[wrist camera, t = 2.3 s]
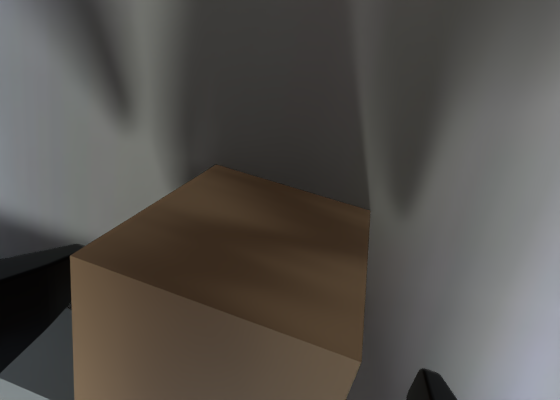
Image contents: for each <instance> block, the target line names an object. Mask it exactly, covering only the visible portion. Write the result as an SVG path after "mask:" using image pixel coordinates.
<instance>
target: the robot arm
mask: <svg viewBox="0 0 560 400" xmlns="http://www.w3.org/2000/svg"><path fill="white" fill-rule="evenodd" d="M83 247H85V246H83V245H80V244H73V245H68V246H63V247H59V248H54V249H49V250H44V251H39V252H34V253H29V254H24V255H19V256H14V257H9V258H5V259H0V373H1V372H2V371H3V370H4V369H6V368H7V367H8V366H9V365H10V364H11V363H12V362H13V361H14V360H15V359H16V358H17V357H18V356H19V355H20V354H21V353H22V352H23V351H24V350H25V349H26V348H28V347H29V346H30V345H31V344H32V343H33V342H34V341H35V340H36V339H37V338H38V337H39V336H40V335H41V334H42V333H43V332H44V331H45V330H46V329H47V328H48V327H49V326H50V325H51V324H52V323H53V322H54V321H55V320H56V319H57V318H58V316H59V315H60V314H61V313H62V312H63V311H64V310H65V308H66V307H67V306H68V305H69V304H70V303H71V272H70V255H72V254H73V253H75V252H77V251H78V250H80V249H81V248H83ZM406 400H457V398H456V397H455V395H454V394H453V393H452V391H451V390H450V388H449V387H448V385H447V384H446V382H445V381H444V379H443V378H442V377H441V375H440V374H438V373H436V372H433V371H431V370H428V369H425V368H422V369H420V370H419V372H418V373H417V375H416V377H415V379H414V381H413V383H412V385H411V387H410V389H409V391H408V394H407V399H406Z"/></svg>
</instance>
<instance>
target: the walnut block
mask: <svg viewBox="0 0 560 400" xmlns="http://www.w3.org/2000/svg"><path fill="white" fill-rule="evenodd" d="M369 226H370V210H366V209H363V208H360V207H356V206H353V205H350V204H346V203H343V202H340V201H336V200H333V199H330V198H326V197H323V196H320V195H316V194H313V193H310V192H306V191H303V190H300V189H296V188H293V187H290V186H286V185H283V184H280V183H276V182H273V181H270V180H266V179H263V178H260V177H256V176H253V175H250V174H246V173H243V172H240V171H236V170H233V169H230V168H226V167H223V166H220V165H215V166H213V167H211V168H210V169H208V170H207V171H205V172H203V173H202V174H200V175H199V176H197V177H195V178H194V179H192V180H190V181H189V182H187V183H186V184H184V185H182V186H181V187H179V188H178V189H176V190H174V191H173V192H171V193H170V194H168V195H166V196H165V197H163V198H162V199H160V200H158V201H157V202H155V203H154V204H152V205H150V206H149V207H147V208H146V209H144V210H142V211H141V212H139V213H138V214H136V215H134V216H133V217H131V218H130V219H128V220H126V221H125V222H123V223H122V224H120V225H118V226H117V227H115V228H113V229H112V230H110V231H109V232H107V233H105V234H104V235H102V236H101V237H99V238H97V239H96V240H94V241H93V242H91V243H89V244H88V245H86V246H85V247H83V248H81V249H80V250H78V251H77V252H75V253H73V254H72V255H70V272H71V304H72V337H73V370H74V400H346V398H347V395H348V393H349V391H350V388H351V386H352V384H353V381H354V379H355V376H356V374H357V372H358V369H359V367H360V365H361V362H362V345H363V328H364V311H365V294H366V277H367V260H368V243H369Z"/></svg>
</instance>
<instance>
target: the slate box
mask: <svg viewBox="0 0 560 400" xmlns="http://www.w3.org/2000/svg"><path fill="white" fill-rule="evenodd" d="M0 400H74V370H73V337H72V310H70V309H68V308H65V310H64V311H63V312H62V313H61V314H60V315H59V316H58V318H57V319H56V320H55V321H54V322H53V323H52V324H51V325H50V326H49V327H48V328H47V329H46V330H45V331H44V332H43V333H42V334H41V335H40V336H39V337H38V338H37V339H36V340H35V341H34V342H33V343H32V344H31V345H30V346H29V347H28V348H26V349H25V350H24V351H23V352H22V353H21V354H20V355H19V356H18V357H17V358H16V359H15V360H14V361H13V362H12V363H11V364H10V365H9V366H8V367H7V368H6V369H4V370H3V371H2V372H1V373H0Z"/></svg>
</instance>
